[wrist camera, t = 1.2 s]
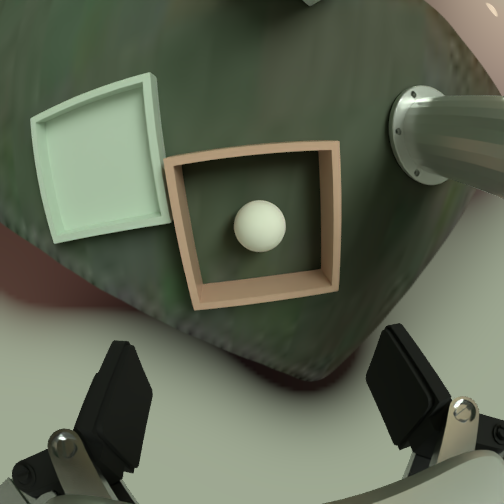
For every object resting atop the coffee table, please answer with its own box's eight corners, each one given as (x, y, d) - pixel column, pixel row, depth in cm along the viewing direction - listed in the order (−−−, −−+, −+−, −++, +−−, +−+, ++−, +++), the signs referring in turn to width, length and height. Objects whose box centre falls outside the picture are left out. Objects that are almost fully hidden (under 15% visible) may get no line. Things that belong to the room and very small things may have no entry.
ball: (278, 193, 28) (289, 204, 23) (282, 237, 30) (291, 256, 25) (230, 198, 28) (231, 211, 23) (236, 243, 30) (238, 263, 25)
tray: (156, 77, 22) (150, 72, 19) (175, 215, 28) (170, 222, 26) (42, 118, 21) (30, 118, 19) (64, 236, 27) (54, 243, 25)
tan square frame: (324, 140, 26) (339, 141, 22) (327, 273, 32) (338, 290, 28) (172, 155, 25) (163, 158, 22) (197, 290, 32) (194, 310, 28)
